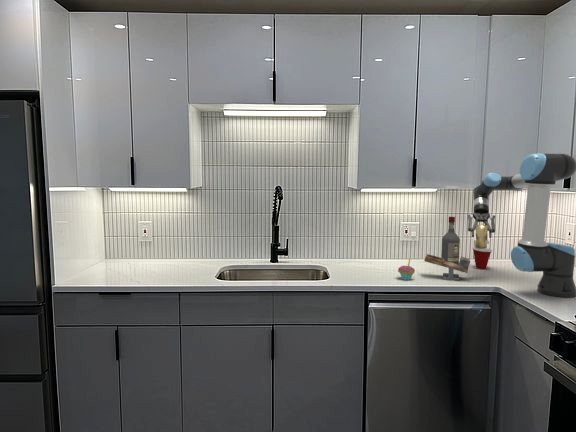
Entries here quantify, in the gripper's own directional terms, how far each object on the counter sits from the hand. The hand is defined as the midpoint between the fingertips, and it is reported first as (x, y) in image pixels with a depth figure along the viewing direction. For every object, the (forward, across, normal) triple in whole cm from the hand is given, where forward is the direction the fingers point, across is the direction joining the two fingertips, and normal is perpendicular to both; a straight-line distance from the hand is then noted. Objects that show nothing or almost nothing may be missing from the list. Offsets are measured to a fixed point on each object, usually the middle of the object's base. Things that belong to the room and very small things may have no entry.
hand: (481, 241), depth 199 cm
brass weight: (0, 0, -5) cm, 5 cm away
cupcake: (+23, +36, -6) cm, 43 cm away
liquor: (-9, +15, -41) cm, 44 cm away
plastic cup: (-7, -3, -38) cm, 39 cm away
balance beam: (+10, +17, -10) cm, 22 cm away
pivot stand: (+15, +14, -14) cm, 25 cm away
